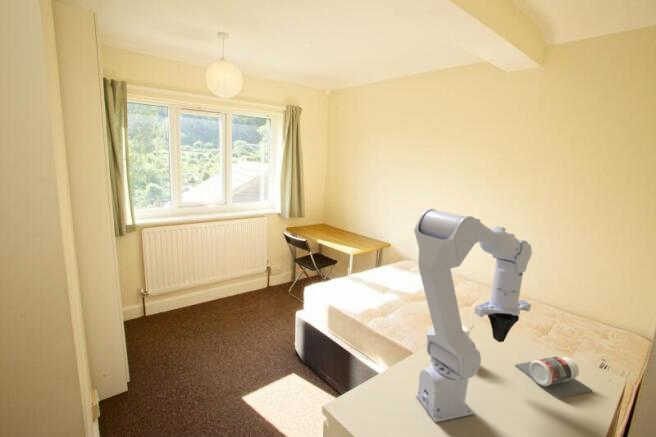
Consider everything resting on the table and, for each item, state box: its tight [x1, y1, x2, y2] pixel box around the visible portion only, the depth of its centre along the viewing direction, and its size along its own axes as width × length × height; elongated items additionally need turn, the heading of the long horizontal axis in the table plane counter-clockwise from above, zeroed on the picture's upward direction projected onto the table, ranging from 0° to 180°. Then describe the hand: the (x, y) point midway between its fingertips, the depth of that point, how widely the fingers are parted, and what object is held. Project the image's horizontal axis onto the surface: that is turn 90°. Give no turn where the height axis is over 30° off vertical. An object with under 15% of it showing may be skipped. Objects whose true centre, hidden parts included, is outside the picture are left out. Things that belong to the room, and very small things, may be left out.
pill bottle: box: [530, 356, 580, 386], centre depth 78 cm, size 6×6×10 cm
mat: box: [514, 361, 593, 400], centre depth 80 cm, size 10×12×1 cm
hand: (498, 339), depth 77 cm, fingers closed
